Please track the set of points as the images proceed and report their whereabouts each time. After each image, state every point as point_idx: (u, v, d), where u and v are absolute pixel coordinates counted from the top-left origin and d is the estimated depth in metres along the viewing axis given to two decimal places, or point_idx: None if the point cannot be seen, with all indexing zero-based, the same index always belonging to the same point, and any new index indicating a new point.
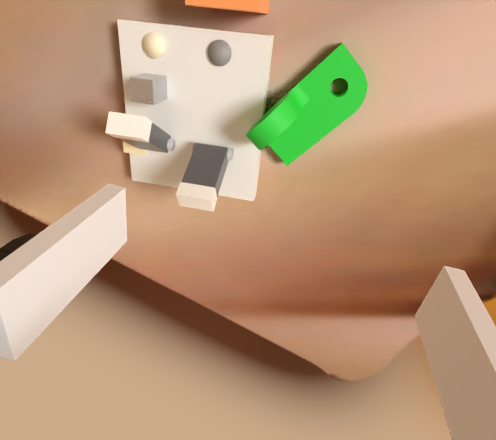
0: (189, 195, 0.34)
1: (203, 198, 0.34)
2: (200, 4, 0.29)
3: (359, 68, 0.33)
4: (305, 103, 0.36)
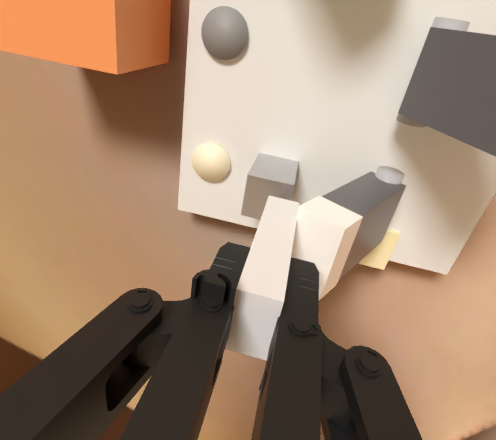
0: None
1: None
2: (113, 40, 0.15)
3: None
4: None
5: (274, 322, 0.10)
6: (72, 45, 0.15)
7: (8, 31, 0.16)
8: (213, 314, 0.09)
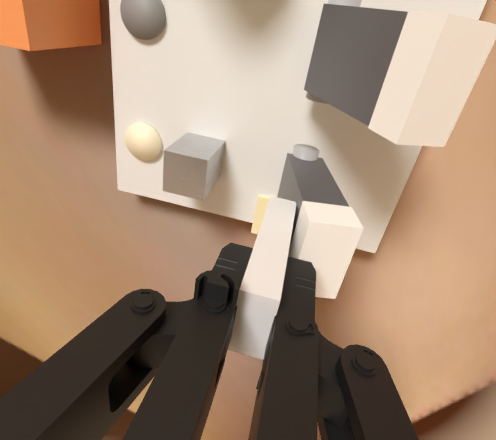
0: (411, 97, 0.10)
1: (433, 45, 0.10)
2: (22, 17, 0.15)
3: None
4: None
5: (271, 321, 0.10)
6: None
7: None
8: (216, 315, 0.09)
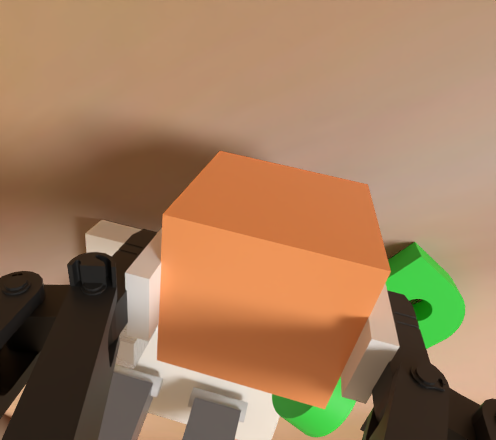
0: None
1: None
2: (192, 368, 0.13)
3: (451, 287, 0.20)
4: None
5: (383, 366, 0.10)
6: (181, 327, 0.12)
7: (189, 253, 0.10)
8: (97, 296, 0.09)
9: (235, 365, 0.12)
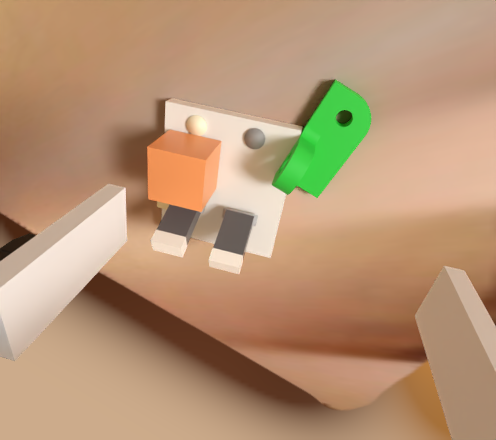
0: (221, 262, 0.39)
1: (233, 265, 0.39)
2: (159, 200, 0.39)
3: (357, 97, 0.36)
4: (317, 140, 0.38)
5: None
6: (155, 184, 0.38)
7: (155, 158, 0.36)
8: None
9: (172, 197, 0.39)
